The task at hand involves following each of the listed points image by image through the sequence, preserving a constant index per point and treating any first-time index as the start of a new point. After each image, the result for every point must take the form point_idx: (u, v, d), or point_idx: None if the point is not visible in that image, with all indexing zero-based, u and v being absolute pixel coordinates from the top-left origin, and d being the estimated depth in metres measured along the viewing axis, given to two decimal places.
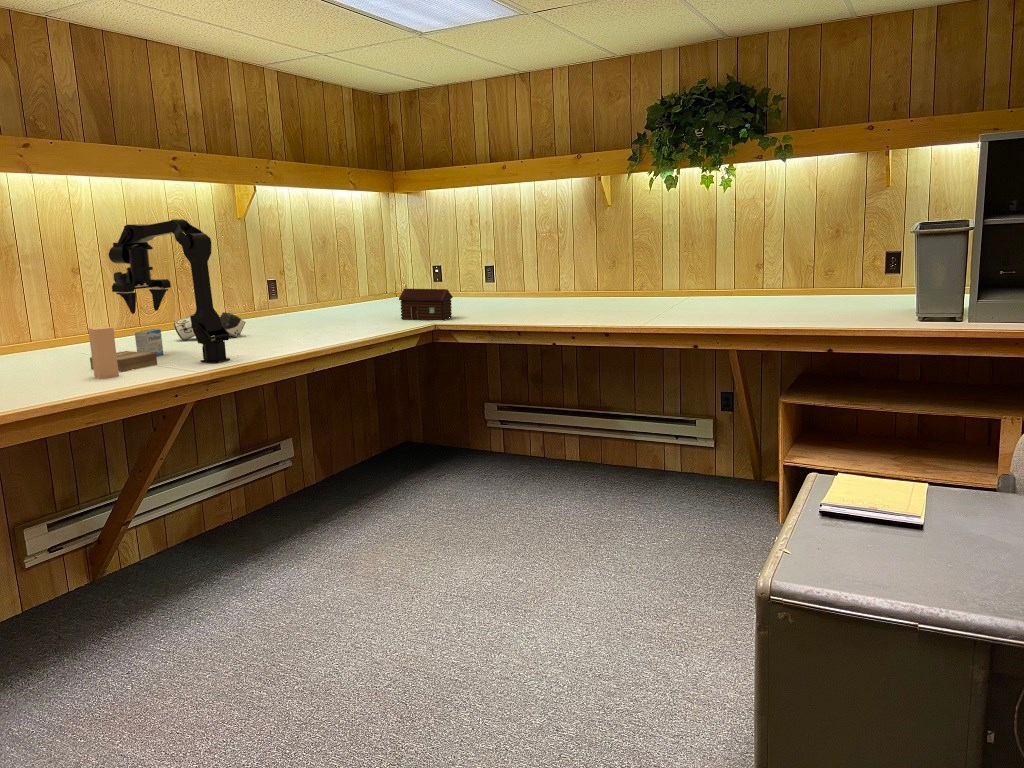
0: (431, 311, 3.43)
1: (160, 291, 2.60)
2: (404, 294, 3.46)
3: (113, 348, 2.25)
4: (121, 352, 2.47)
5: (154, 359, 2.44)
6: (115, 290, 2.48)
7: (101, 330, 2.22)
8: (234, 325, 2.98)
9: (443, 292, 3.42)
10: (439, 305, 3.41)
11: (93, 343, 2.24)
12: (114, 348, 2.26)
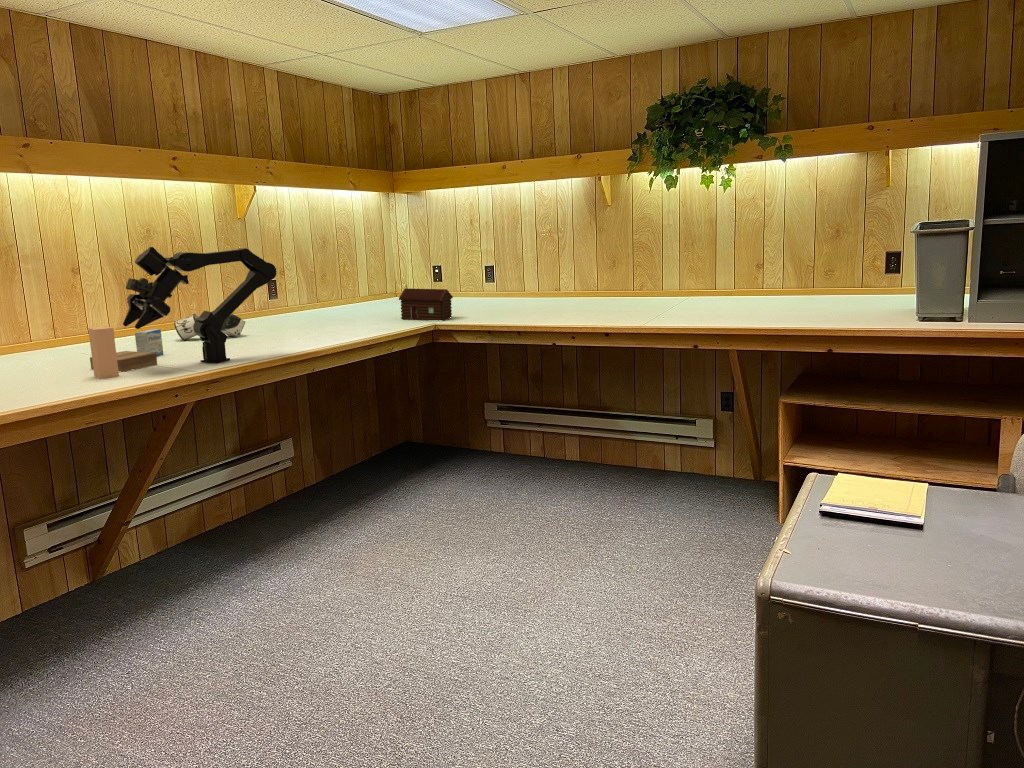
0: (430, 311, 3.43)
1: None
2: (404, 294, 3.47)
3: (113, 348, 2.25)
4: (121, 352, 2.47)
5: (154, 359, 2.44)
6: (157, 305, 2.26)
7: (101, 330, 2.22)
8: (234, 325, 2.99)
9: (442, 292, 3.42)
10: (438, 305, 3.40)
11: (93, 343, 2.24)
12: (114, 348, 2.26)
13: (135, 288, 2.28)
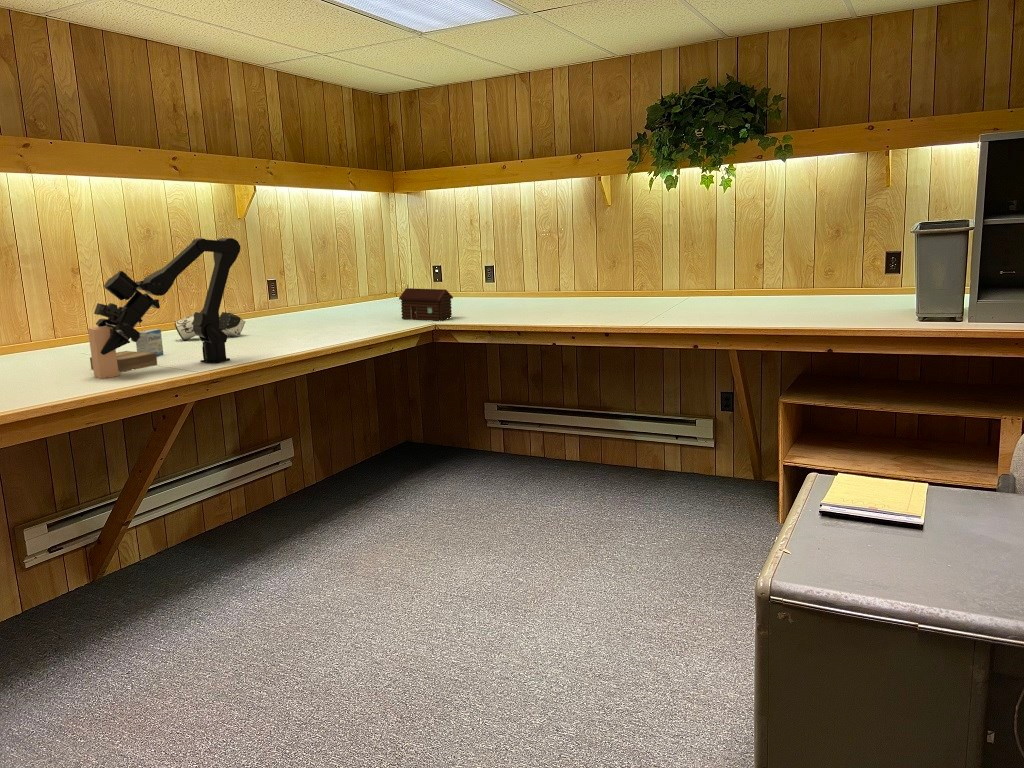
0: (429, 311, 3.43)
1: None
2: (404, 294, 3.48)
3: None
4: (121, 352, 2.47)
5: (154, 359, 2.44)
6: (126, 332, 2.21)
7: (100, 330, 2.22)
8: (235, 325, 3.00)
9: (441, 292, 3.41)
10: (436, 305, 3.40)
11: (92, 343, 2.24)
12: None
13: (104, 313, 2.22)
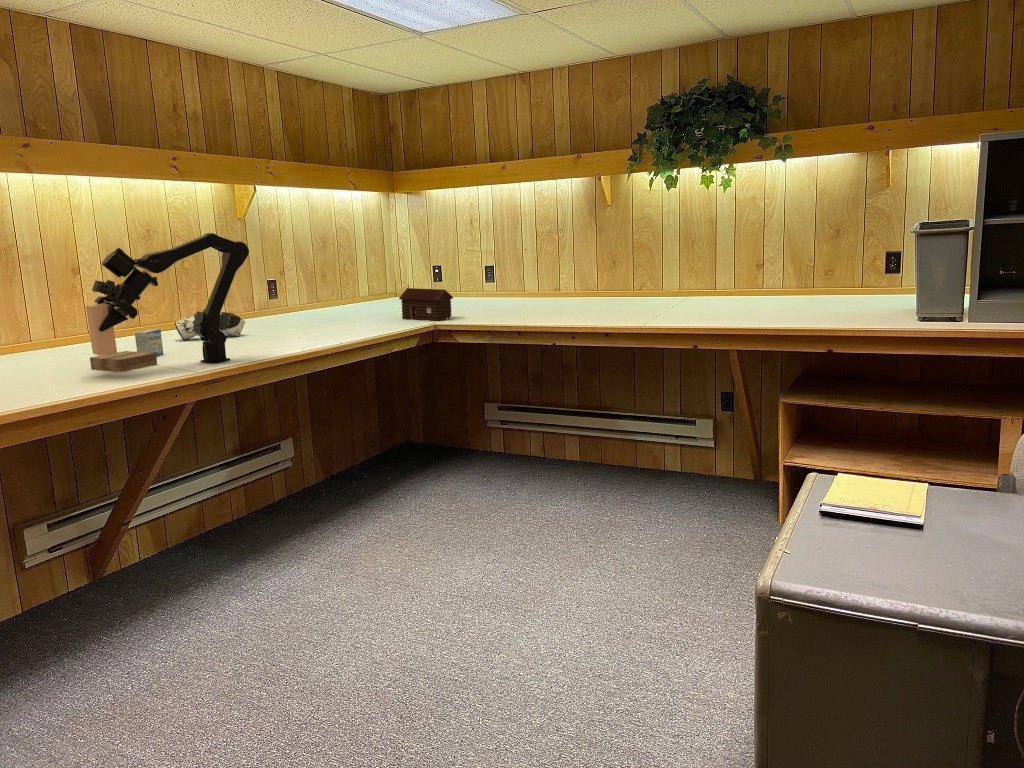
0: (428, 311, 3.43)
1: None
2: (405, 293, 3.48)
3: None
4: (121, 352, 2.47)
5: (154, 359, 2.44)
6: (123, 308, 2.21)
7: (98, 307, 2.22)
8: (235, 324, 3.00)
9: (440, 292, 3.41)
10: (435, 305, 3.40)
11: (90, 321, 2.24)
12: None
13: (101, 290, 2.23)
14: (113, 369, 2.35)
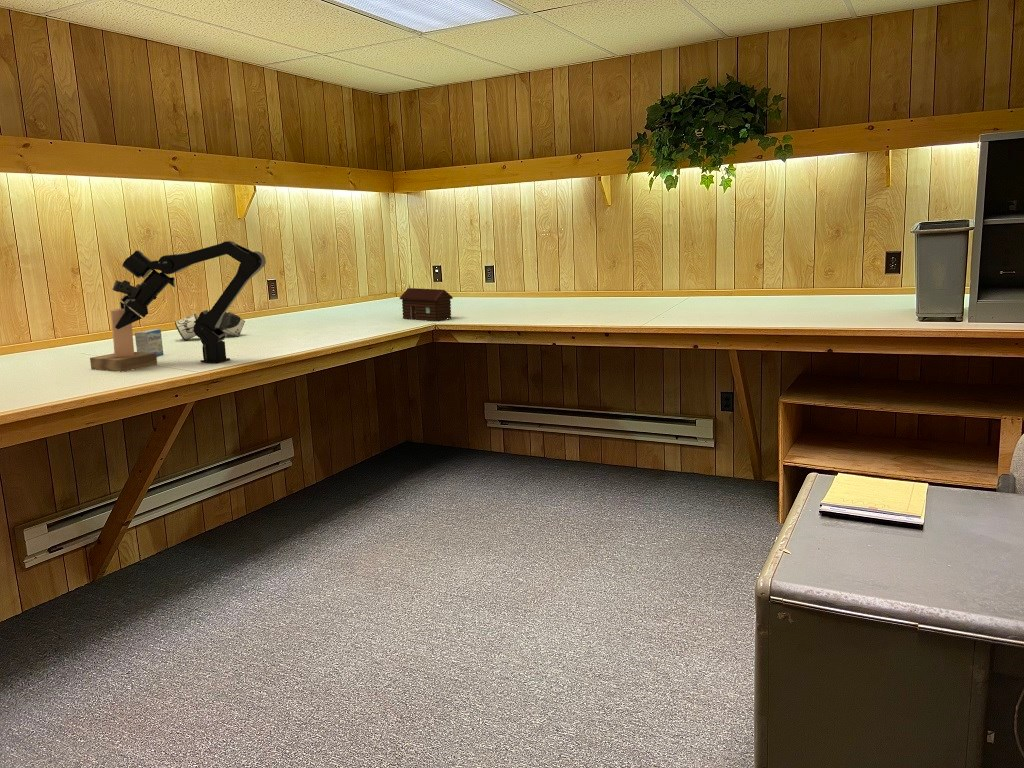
0: (427, 311, 3.43)
1: None
2: (405, 293, 3.49)
3: (130, 329, 2.39)
4: None
5: (154, 359, 2.44)
6: (133, 307, 2.32)
7: (118, 312, 2.36)
8: (235, 324, 3.01)
9: (439, 292, 3.40)
10: (433, 305, 3.39)
11: (112, 324, 2.38)
12: (131, 329, 2.39)
13: (118, 290, 2.36)
14: (113, 369, 2.35)
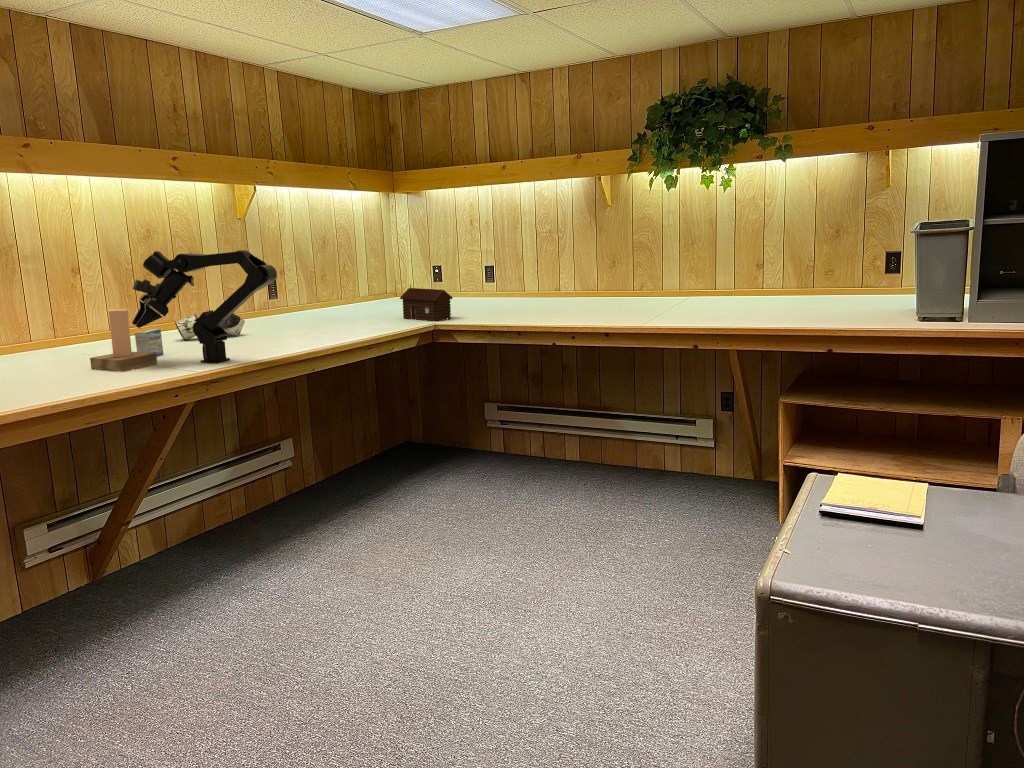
0: (426, 311, 3.43)
1: None
2: (406, 293, 3.50)
3: (126, 329, 2.38)
4: None
5: (154, 359, 2.44)
6: (154, 306, 2.35)
7: (115, 312, 2.36)
8: (235, 324, 3.01)
9: (438, 293, 3.40)
10: (432, 305, 3.39)
11: None
12: (127, 329, 2.38)
13: (138, 289, 2.38)
14: (113, 369, 2.35)
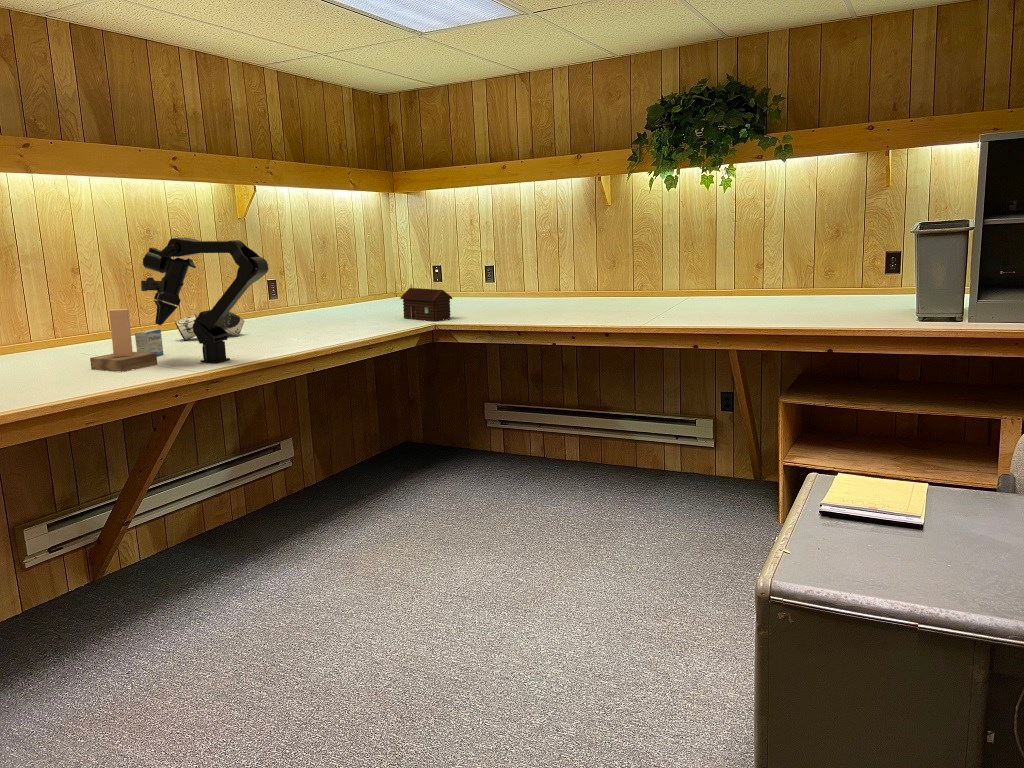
0: (426, 311, 3.43)
1: None
2: (406, 293, 3.50)
3: (127, 329, 2.39)
4: None
5: (154, 359, 2.44)
6: (165, 299, 2.36)
7: (116, 311, 2.37)
8: (235, 324, 3.02)
9: (437, 293, 3.40)
10: (431, 305, 3.39)
11: None
12: (128, 329, 2.39)
13: (146, 288, 2.40)
14: (113, 369, 2.35)
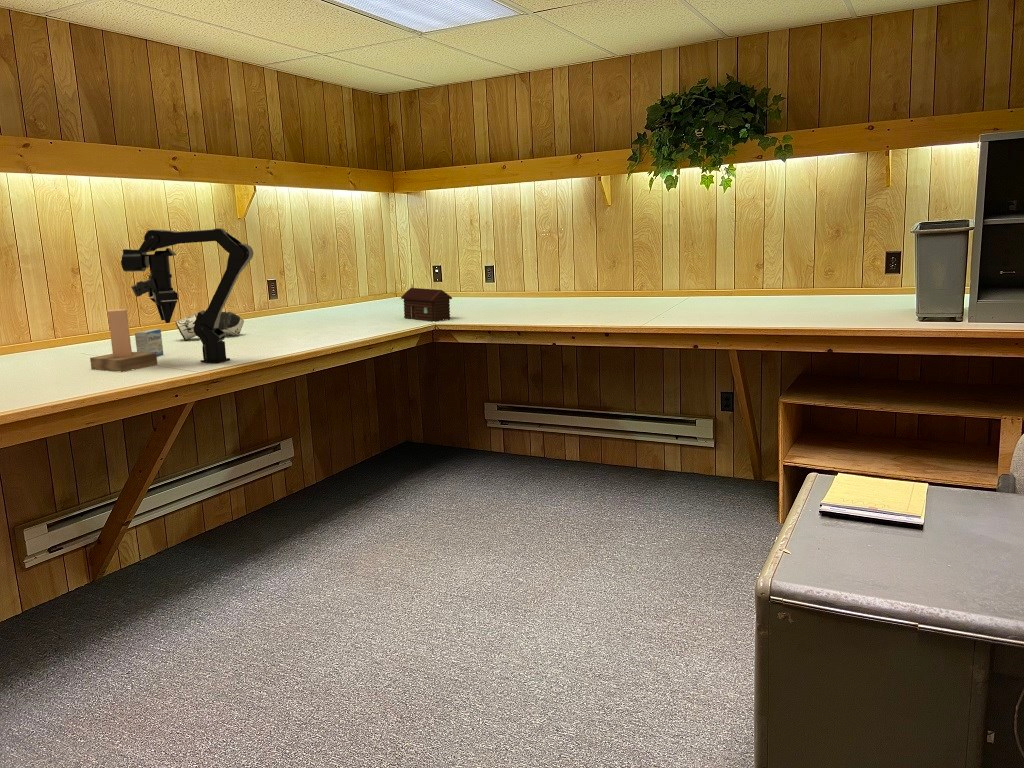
0: (425, 311, 3.43)
1: None
2: (407, 293, 3.50)
3: (126, 329, 2.38)
4: None
5: (154, 359, 2.44)
6: (163, 298, 2.35)
7: (114, 312, 2.36)
8: (235, 324, 3.02)
9: (436, 293, 3.39)
10: (430, 306, 3.39)
11: None
12: (127, 329, 2.38)
13: (140, 293, 2.38)
14: (113, 369, 2.35)
